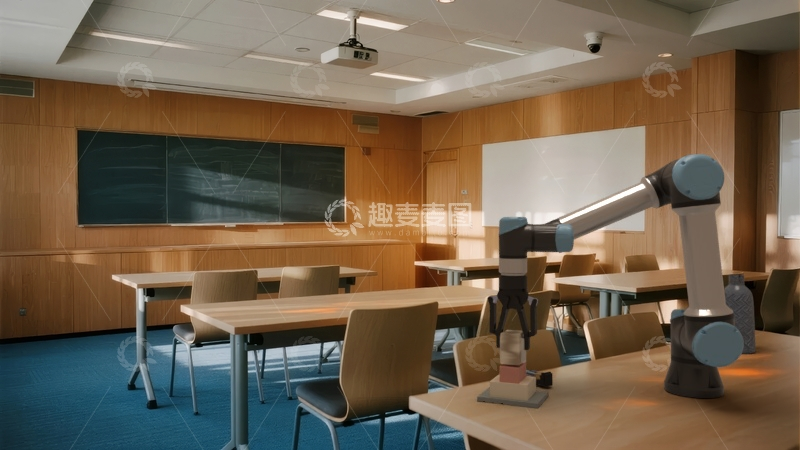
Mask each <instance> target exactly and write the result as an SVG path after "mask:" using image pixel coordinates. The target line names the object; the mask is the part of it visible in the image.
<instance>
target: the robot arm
mask: <svg viewBox="0 0 800 450" xmlns="http://www.w3.org/2000/svg"><path fill="white" fill-rule="evenodd" d="M724 183H725V172H724V169H723V168H722V165H721V164H720V163H719V162H718V160H716V159H715V158H713V157H711V156H709V155H707V154H702V153H701V154H700V153H698V154H697V153H695V154H693V153H692V154H688V155H685V156H682V157H681V158H678V159H674V160H673V161H670V162H668V163H666V164H665V165H664V166H662V167H661V168H658V169H657V170H655V171H653V172H651V173H650V174H647V175H644V176H643V177H641V179H640V181H639V182H638V183H636V184H634V185H632V186H629V187H626V188H625V189H622V190H620V191H617V192H615V193H613V194H610V195H608V196H606V197H603V198H601V199H599V200H596V201H594V202H592V203H590V204H587V205H584V206H583V207H580V208H578V209H575V210H573V211H570V212H569V213H566V214H564V215H562V216H559V217H557V218H555V219H552V220H551V221H547V222H546V223H541V224H540V223H539V224H533V223H529V222H528V218H527V217H525V216H503V217H501V218H500V219H499V222H498V226H499V227H498V273H500V274H499V276H498V291H497V293H496V295H491V296H488V297H487V301H488V304H489V327H488V328H489V330H488V331H489V333H490V334H493V335H495V336H496V337H495V339H496V342H495V343H496V345H495V346H496V348H497V349H500V334H501V333H502V332H504V329H505V325H506V321H507V318H508V314H509V311H510V310H512V309H513V310H516V312H517V316H518V318H519V322H520V327H521V331H523V335H524V337H522V338H521V363H525V362H526V363H527V351H528V350H530V349H531V337H535V336H536V335H537V334H538V317H537V314H538V312H537V311H538V309H537V308H538V304H539V302H540V300H539V298H538V297H532V296H531V295H530V294H529V292H528V276H527V273H528V253H559V254H561V253H570V252H572V251H573V249H574V242H575V240H576V239H579V238H581V237H583V236H587V235H588V234H591V233H594V232H595V231H598V230H600V229H603V228H605V227H608V226H610V225H612V224H614V223H617V222H619V221H622V220H624V219H627V218H629V217H632V216H633V215H637V214H638V213H641V212H643V211H646V210H649V209H650V208H653V209H660V208H661V207H664V206H668V205H671V210H672V212H674V213H676V215H677V216H678V221H679V229H680V239H681V245H682V246H681V247H682V253H683V254H682V255H683V263H684V264H683V265H684V272H685V281H686V289H687V290H686V291H687V298H688V307H687V308H684V309H681V308H680V309H679V308H675V309H673V310H672V311H671V312H670V319H669V323H670V364H669V366H668V369H667V373H666V375H665V378H664V380H663V389H664V390H665V391H666V392H667V393H670V394H673V395H676V396H682V397H686V398H687V397H688V398H696V399H697V398H698V399H715V398H721V397H723V396H724V394H725V386H724V384H723V380H722V378H721V374H720V372H719V369H718V368H722V367H727V366H730V365H732V364H734V363H735V362H736V361H737V360H739V358H740V357H741V355H743V354H742V351H743V347H744V341H743V337H742V335H741V333H740V331H739V330H738V329H737V328H736V327H735V321H734V313H733V310H732V309H730V308H729V307H728V306H727V305H726V302H725V293H724V288H725V286H724V278H723V269H722V260H721V251H720V243H719V234H718V225H717V217H716V212H717V210H718V209H719V207H721V205H722V204H721V203H722V202H721V194H720V191H721V190H722V188H723V186H724ZM498 300H499V302H500V304H501V305H502V306H501V310H500V311H501V312H500V316H499V320H498V325H497V303H498ZM527 302H528V305H529V306H530V307H529V314H530V315H529V317H530V318H529V319H530V320H529V323H530V326H529V324H528V320H527V316H526V313H525V304H526V303H527Z"/></svg>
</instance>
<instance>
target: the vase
mask: <svg viewBox="0 0 800 450" xmlns="http://www.w3.org/2000/svg"><path fill="white" fill-rule="evenodd" d="M724 293H725V302H726V305H727V306H728V307H729V308H730V309H732V310H733V313H734V321H735V327H736V328H737V329H738V330H739V331H740V333H741V335H742V337H743V341H744V347H743V351H742V354H741V355H749V354H753V353H756V349H757V348H756V327H755V326H756V323H755V305H754V304H755V303H754V296H753V293H752V291H751V290H750V289H749V288H748V287H747V286H746V285H745V275H744V274H728V284H727V285H726V286H724Z"/></svg>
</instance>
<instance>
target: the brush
mask: <svg viewBox="0 0 800 450" xmlns="http://www.w3.org/2000/svg"><path fill="white" fill-rule="evenodd" d="M526 376H531V377H536V386H540V387H547V388H548V387H551V386H552V387H553V373H552V372H551V371H538V370H534V369H526Z"/></svg>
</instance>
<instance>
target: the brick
mask: <svg viewBox="0 0 800 450" xmlns="http://www.w3.org/2000/svg"><path fill="white" fill-rule="evenodd" d="M522 337H524V335H523V331H522V330H518V329H517V330H516V329H515V330H514V329H506V330H505V331H504V330H503V332H502V333H501V334H500V348H499V361H500V362H499V363H500V364H501V365H503V364H508V365H520V364H522V363H521V338H522Z"/></svg>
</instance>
